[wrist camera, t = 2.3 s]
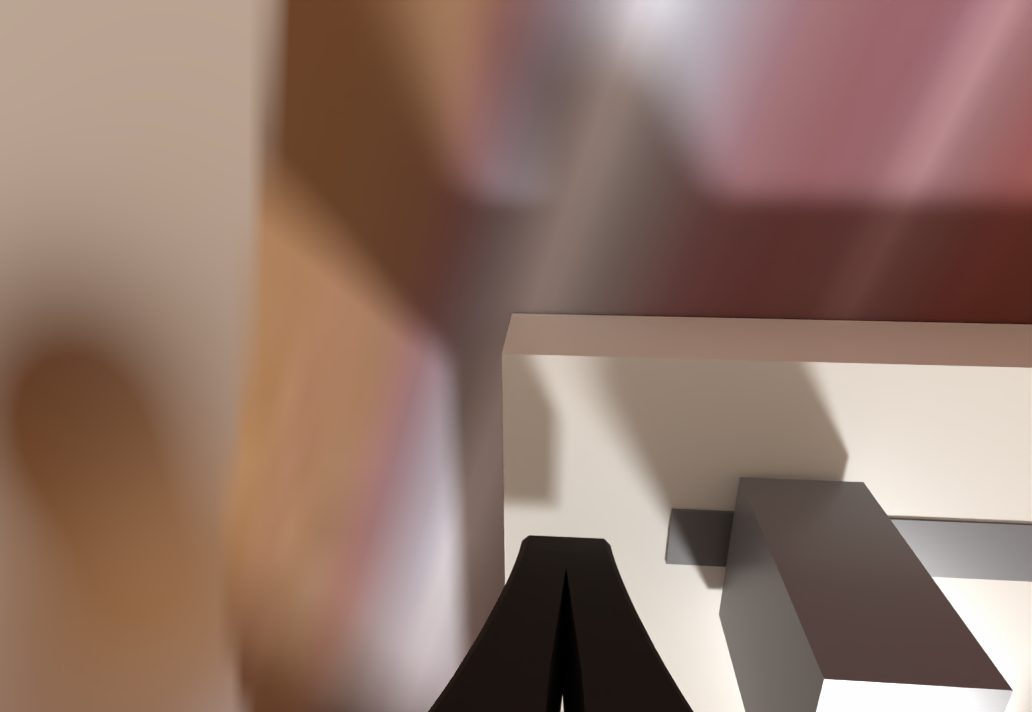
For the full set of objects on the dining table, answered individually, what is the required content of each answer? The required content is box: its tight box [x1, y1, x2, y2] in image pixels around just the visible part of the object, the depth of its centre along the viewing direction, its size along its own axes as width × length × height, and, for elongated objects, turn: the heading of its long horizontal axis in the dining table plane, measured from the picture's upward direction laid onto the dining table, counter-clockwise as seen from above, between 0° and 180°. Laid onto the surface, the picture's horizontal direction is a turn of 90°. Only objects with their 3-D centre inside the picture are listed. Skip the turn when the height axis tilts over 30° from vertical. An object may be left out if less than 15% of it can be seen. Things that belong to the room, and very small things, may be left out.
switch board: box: [502, 313, 1032, 712], centre depth 14 cm, size 15×21×3 cm
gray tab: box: [719, 477, 1013, 712], centre depth 10 cm, size 3×2×4 cm, turn 1°
